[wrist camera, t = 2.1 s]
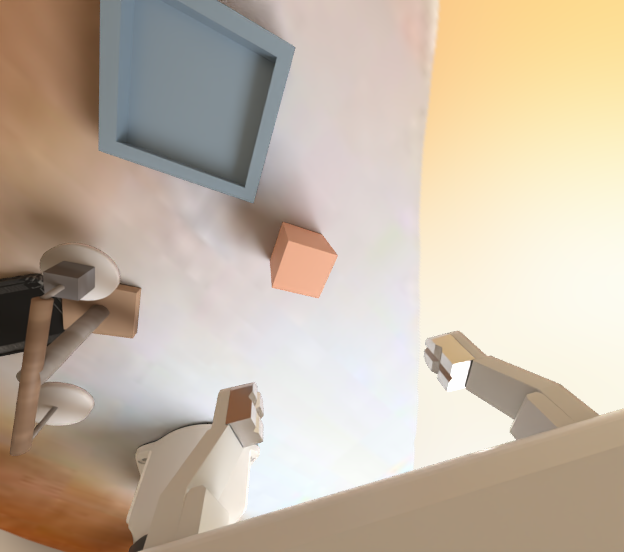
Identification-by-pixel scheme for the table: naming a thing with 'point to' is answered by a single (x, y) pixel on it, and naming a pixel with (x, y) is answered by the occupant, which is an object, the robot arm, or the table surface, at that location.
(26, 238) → the table surface
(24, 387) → the tipped balance
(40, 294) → the phone
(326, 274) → the terracotta block
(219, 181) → the dish
